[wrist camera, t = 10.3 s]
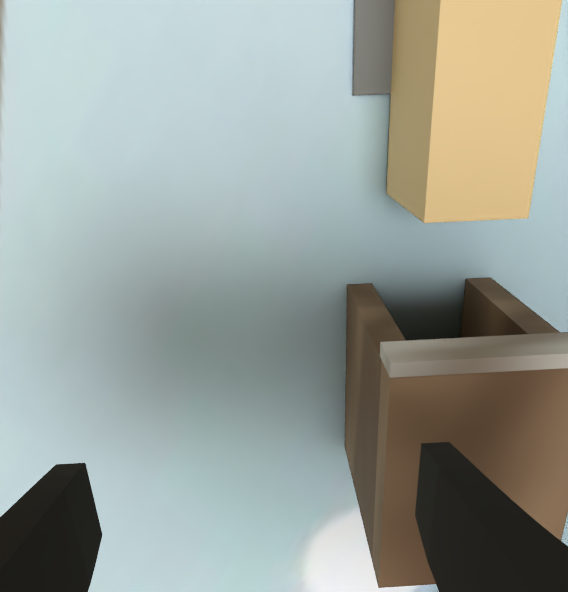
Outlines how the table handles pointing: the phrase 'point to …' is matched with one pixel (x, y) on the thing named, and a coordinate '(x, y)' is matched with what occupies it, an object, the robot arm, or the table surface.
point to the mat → (373, 46)
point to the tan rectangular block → (468, 105)
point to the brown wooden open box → (453, 415)
